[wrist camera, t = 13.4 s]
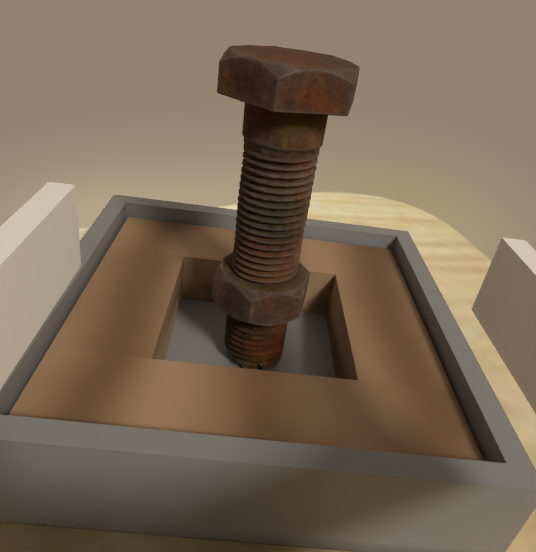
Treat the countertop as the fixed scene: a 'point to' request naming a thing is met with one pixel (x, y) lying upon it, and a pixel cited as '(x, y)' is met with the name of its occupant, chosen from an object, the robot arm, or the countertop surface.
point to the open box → (264, 453)
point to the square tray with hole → (239, 381)
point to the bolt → (274, 188)
